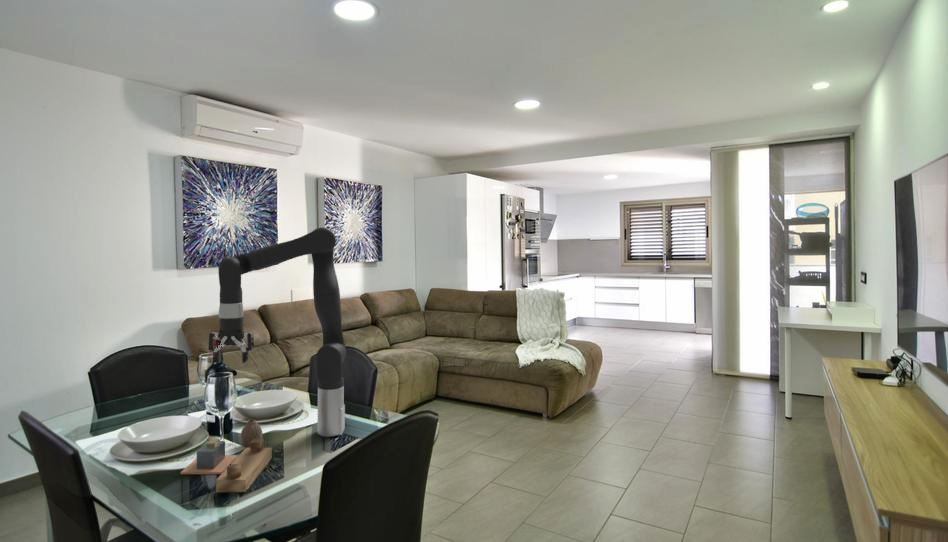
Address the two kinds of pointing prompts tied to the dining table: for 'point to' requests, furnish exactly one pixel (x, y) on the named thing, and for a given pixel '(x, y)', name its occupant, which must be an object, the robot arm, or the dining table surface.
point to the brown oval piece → (250, 433)
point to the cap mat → (217, 470)
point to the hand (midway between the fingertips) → (231, 362)
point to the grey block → (211, 454)
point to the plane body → (244, 468)
